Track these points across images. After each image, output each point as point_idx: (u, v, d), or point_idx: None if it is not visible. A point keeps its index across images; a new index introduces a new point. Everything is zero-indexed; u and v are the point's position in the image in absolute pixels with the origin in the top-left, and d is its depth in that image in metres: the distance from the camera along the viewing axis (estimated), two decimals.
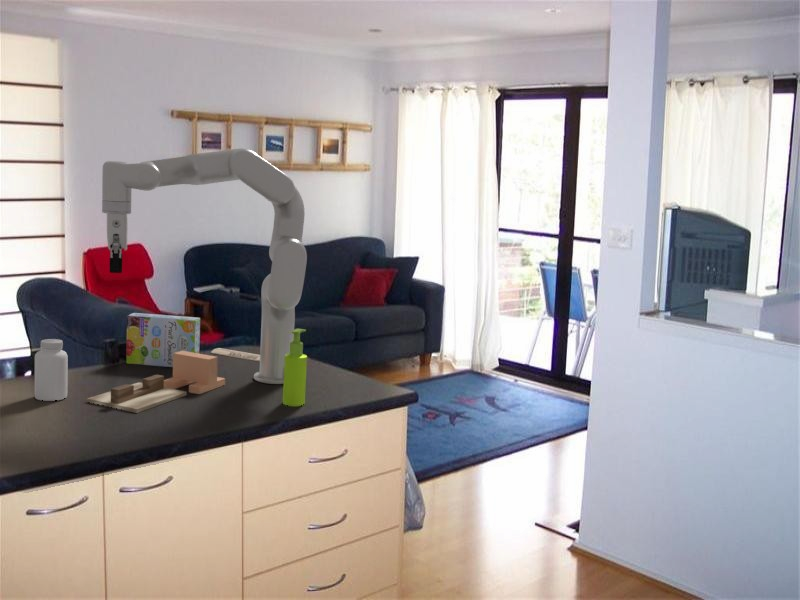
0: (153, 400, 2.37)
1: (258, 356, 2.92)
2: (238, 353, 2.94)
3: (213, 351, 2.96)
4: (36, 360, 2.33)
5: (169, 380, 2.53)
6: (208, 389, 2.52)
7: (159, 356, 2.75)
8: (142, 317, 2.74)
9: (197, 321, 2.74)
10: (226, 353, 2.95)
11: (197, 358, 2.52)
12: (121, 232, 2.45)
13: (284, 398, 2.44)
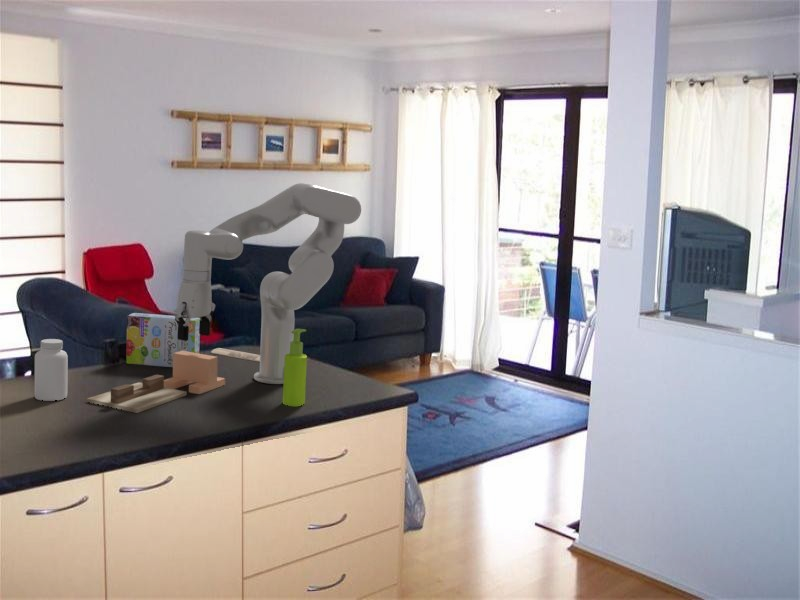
0: (153, 400, 2.37)
1: (257, 356, 2.92)
2: (238, 353, 2.94)
3: (213, 351, 2.96)
4: (36, 360, 2.33)
5: (169, 380, 2.53)
6: (208, 389, 2.52)
7: (159, 356, 2.75)
8: (142, 317, 2.74)
9: (197, 321, 2.74)
10: (226, 353, 2.95)
11: (197, 358, 2.52)
12: None
13: (284, 398, 2.44)
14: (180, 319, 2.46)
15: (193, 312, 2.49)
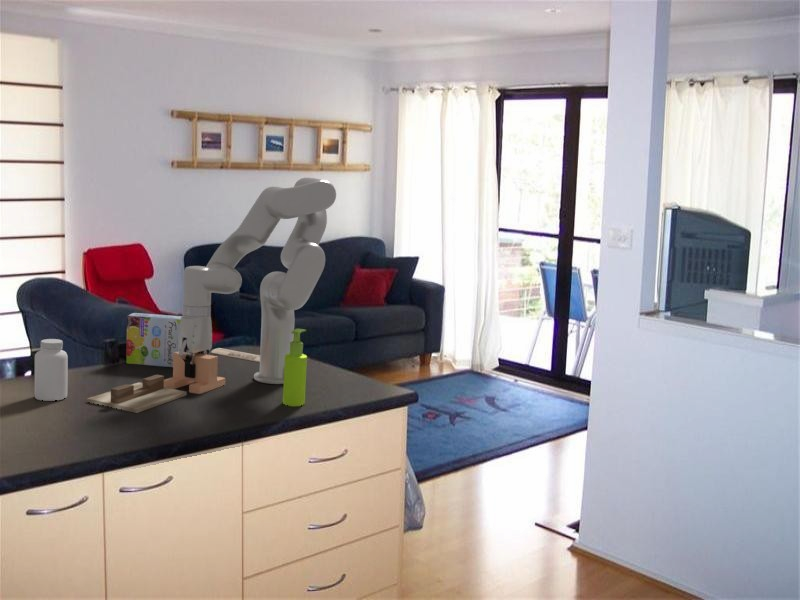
0: (153, 400, 2.37)
1: (257, 356, 2.91)
2: (238, 353, 2.94)
3: (213, 351, 2.96)
4: (36, 360, 2.33)
5: (169, 380, 2.53)
6: (208, 389, 2.52)
7: (159, 356, 2.75)
8: (142, 317, 2.74)
9: None
10: (225, 353, 2.94)
11: (197, 358, 2.53)
12: None
13: (284, 398, 2.44)
14: (187, 358, 2.50)
15: (194, 347, 2.51)
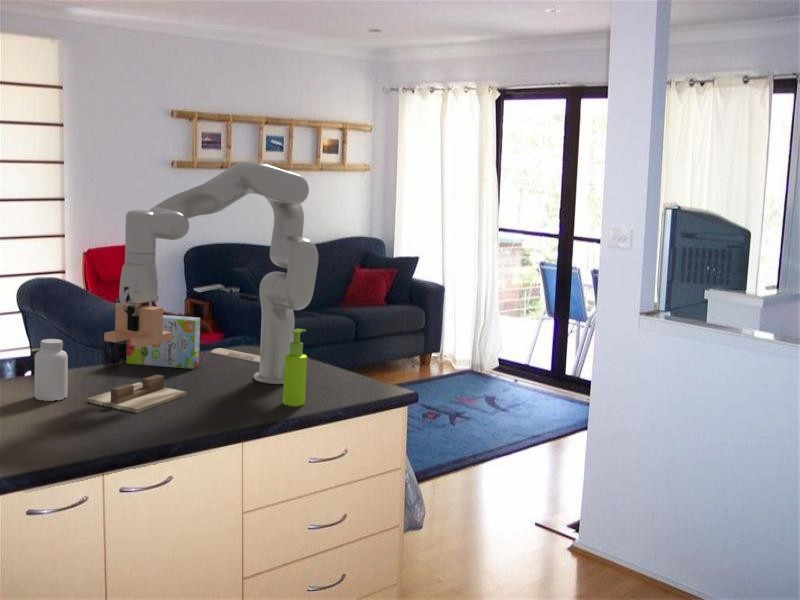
0: (153, 400, 2.37)
1: (256, 357, 2.91)
2: (237, 353, 2.94)
3: (213, 351, 2.97)
4: (36, 360, 2.33)
5: (110, 333, 2.35)
6: (152, 342, 2.34)
7: (159, 356, 2.75)
8: None
9: (197, 321, 2.74)
10: (225, 353, 2.94)
11: (140, 309, 2.34)
12: None
13: (284, 398, 2.44)
14: (129, 308, 2.32)
15: (136, 297, 2.32)
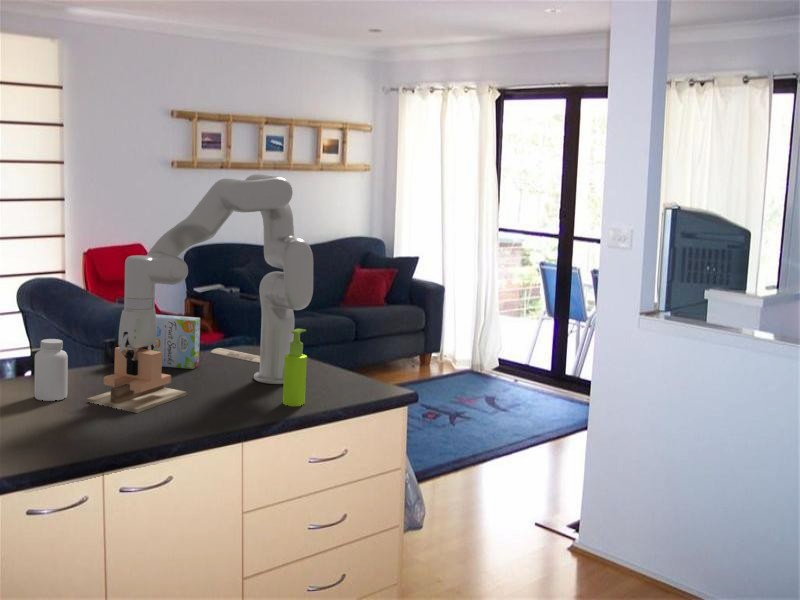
0: (153, 400, 2.37)
1: (255, 357, 2.91)
2: (237, 353, 2.94)
3: (213, 351, 2.97)
4: (36, 360, 2.33)
5: (109, 377, 2.37)
6: (151, 386, 2.36)
7: None
8: None
9: (197, 321, 2.74)
10: (225, 353, 2.94)
11: (140, 353, 2.36)
12: None
13: (284, 398, 2.44)
14: (128, 353, 2.34)
15: (136, 342, 2.34)
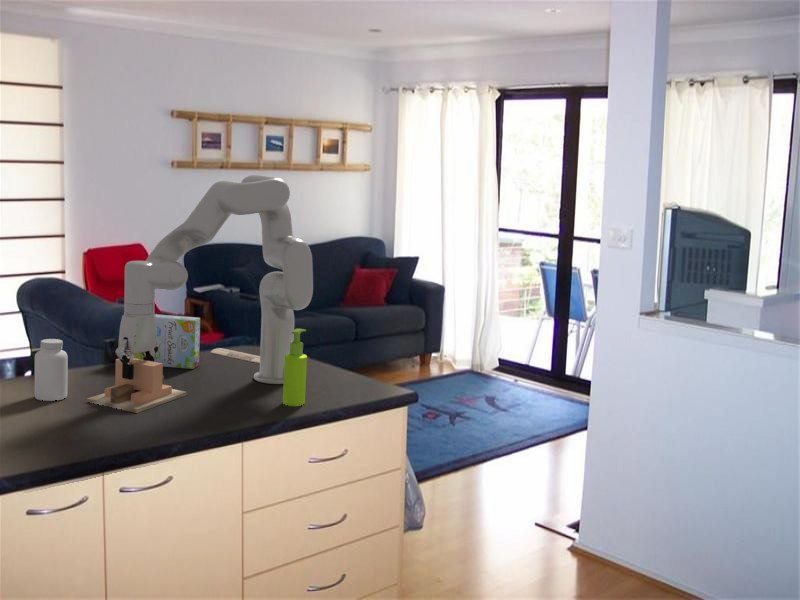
0: (153, 400, 2.37)
1: (255, 357, 2.90)
2: (236, 353, 2.94)
3: (213, 351, 2.97)
4: (36, 360, 2.33)
5: (110, 388, 2.38)
6: (152, 398, 2.37)
7: (159, 356, 2.75)
8: None
9: (197, 321, 2.74)
10: (224, 353, 2.94)
11: (140, 365, 2.37)
12: None
13: (284, 398, 2.44)
14: (123, 357, 2.33)
15: (136, 348, 2.34)
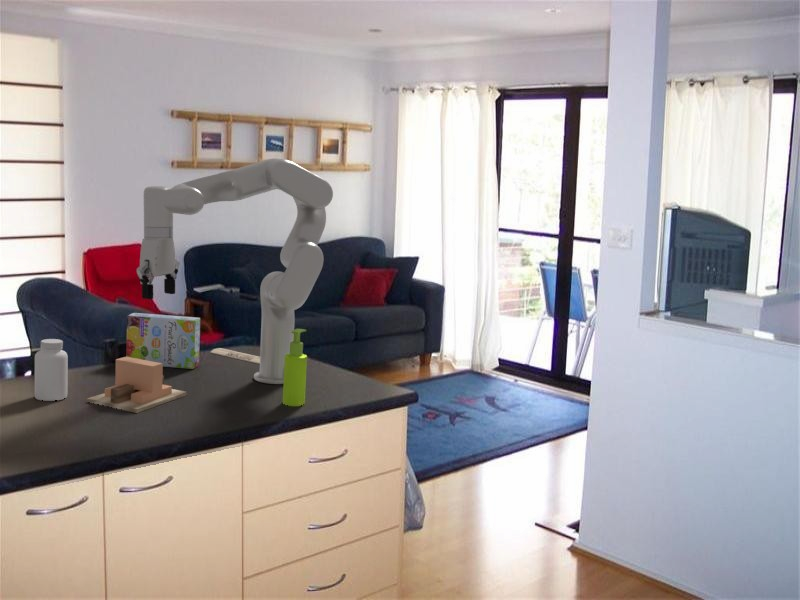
0: (153, 400, 2.37)
1: (254, 357, 2.90)
2: (236, 354, 2.93)
3: (212, 351, 2.97)
4: (36, 360, 2.33)
5: (110, 388, 2.38)
6: (152, 398, 2.37)
7: (159, 356, 2.75)
8: (142, 317, 2.74)
9: (197, 321, 2.74)
10: (224, 353, 2.94)
11: (140, 365, 2.37)
12: None
13: (284, 398, 2.44)
14: (144, 277, 2.40)
15: (157, 270, 2.43)
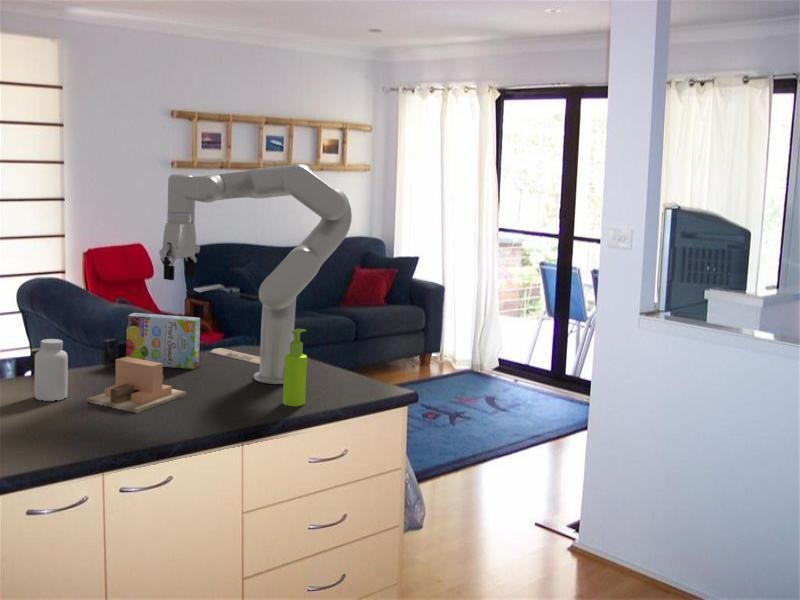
0: (153, 400, 2.37)
1: (253, 357, 2.90)
2: (235, 354, 2.93)
3: (212, 351, 2.97)
4: (36, 360, 2.33)
5: (110, 388, 2.38)
6: (152, 398, 2.37)
7: (159, 356, 2.75)
8: (142, 317, 2.74)
9: (197, 321, 2.74)
10: (224, 353, 2.94)
11: (140, 365, 2.37)
12: None
13: (284, 398, 2.44)
14: (165, 259, 2.56)
15: (178, 252, 2.58)
